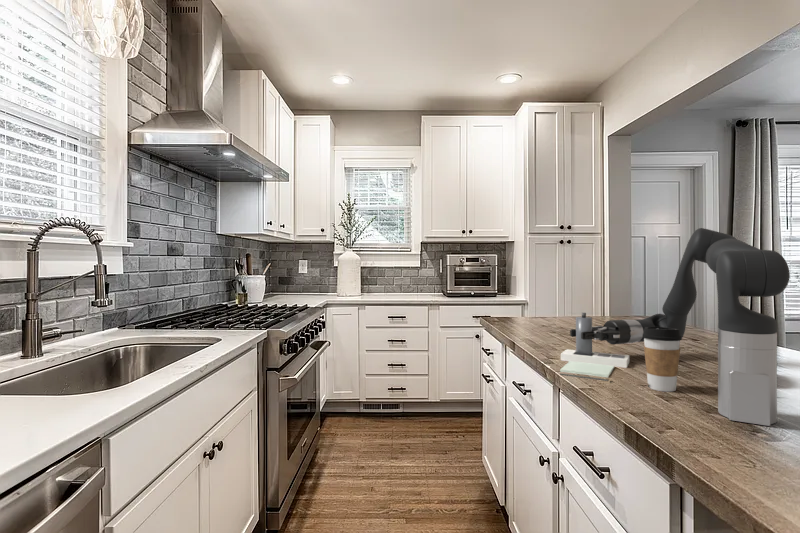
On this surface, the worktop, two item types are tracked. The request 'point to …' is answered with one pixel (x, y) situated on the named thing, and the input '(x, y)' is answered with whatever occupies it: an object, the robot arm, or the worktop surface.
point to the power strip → (596, 358)
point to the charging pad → (587, 370)
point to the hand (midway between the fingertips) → (576, 334)
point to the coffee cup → (662, 357)
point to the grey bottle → (581, 326)
